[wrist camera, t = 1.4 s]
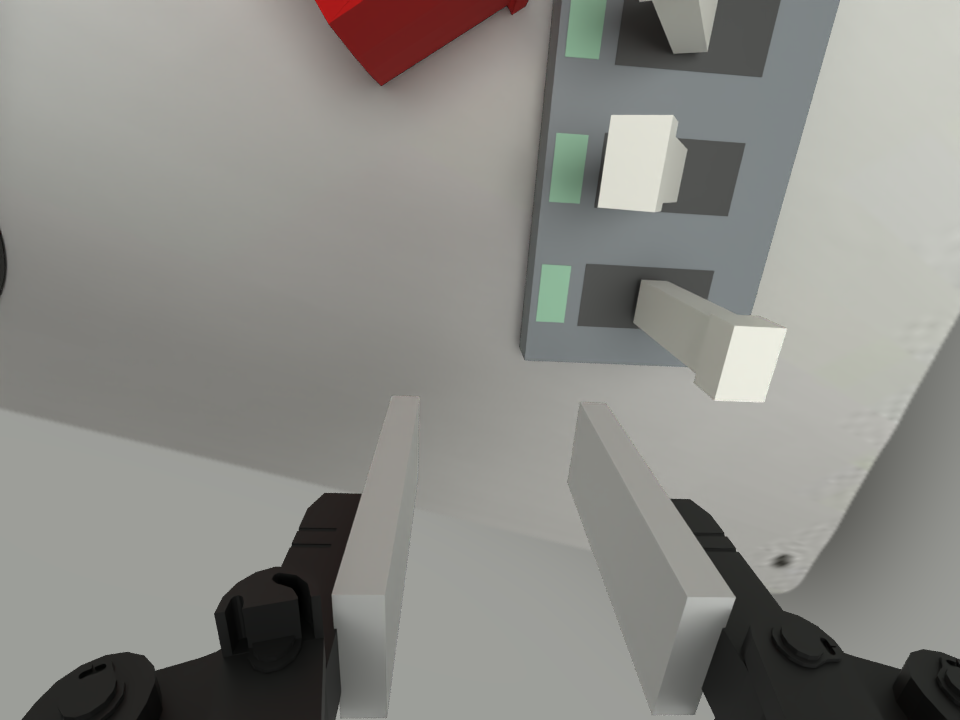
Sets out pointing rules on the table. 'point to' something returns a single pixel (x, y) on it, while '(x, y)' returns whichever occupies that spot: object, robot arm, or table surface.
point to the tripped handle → (711, 341)
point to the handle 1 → (686, 23)
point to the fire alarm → (404, 28)
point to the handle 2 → (642, 163)
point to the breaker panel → (706, 175)
